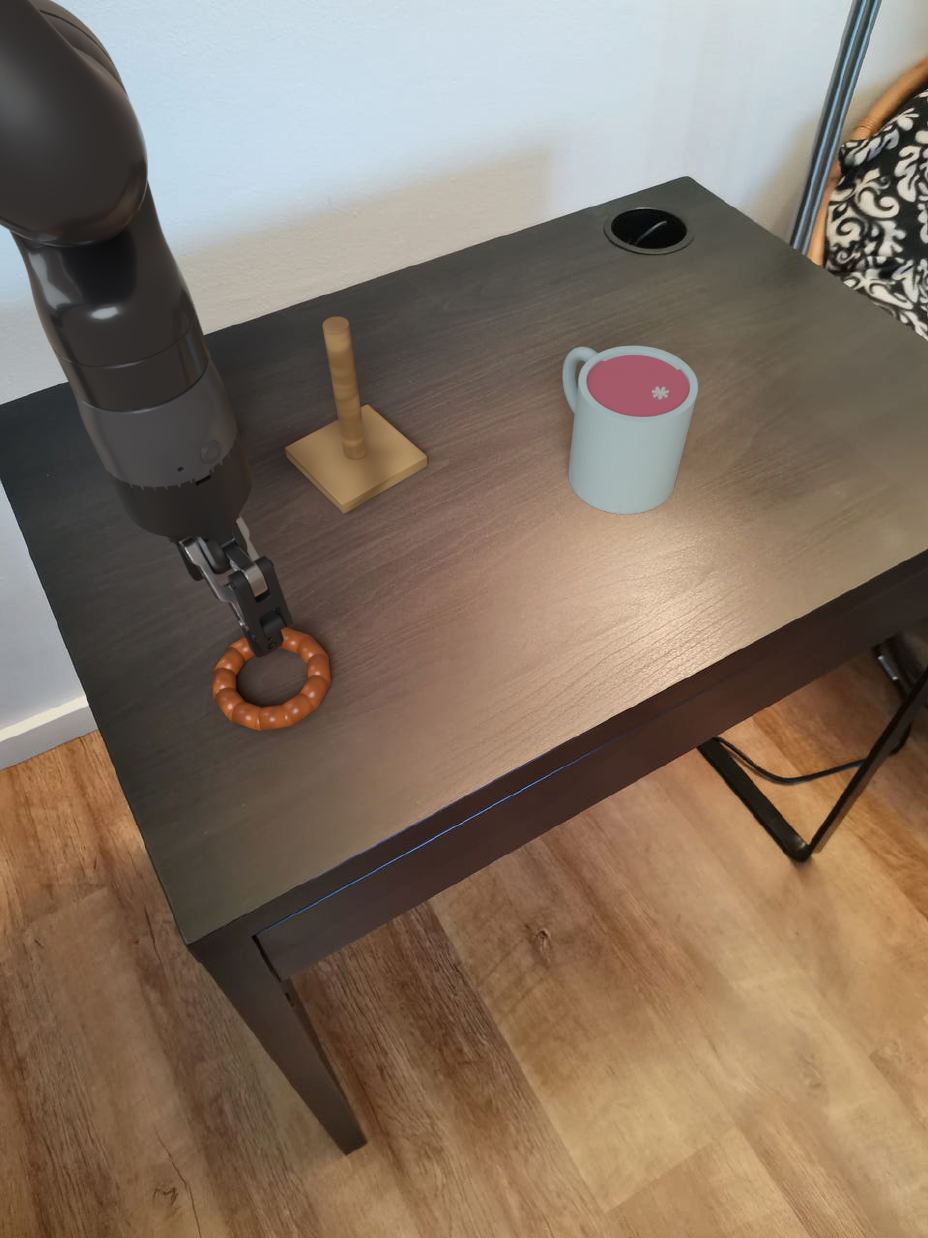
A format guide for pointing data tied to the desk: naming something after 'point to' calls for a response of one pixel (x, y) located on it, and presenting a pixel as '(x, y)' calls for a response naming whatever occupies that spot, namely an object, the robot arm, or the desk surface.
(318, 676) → the ring
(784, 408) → the desk surface
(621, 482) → the mug
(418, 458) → the stand
